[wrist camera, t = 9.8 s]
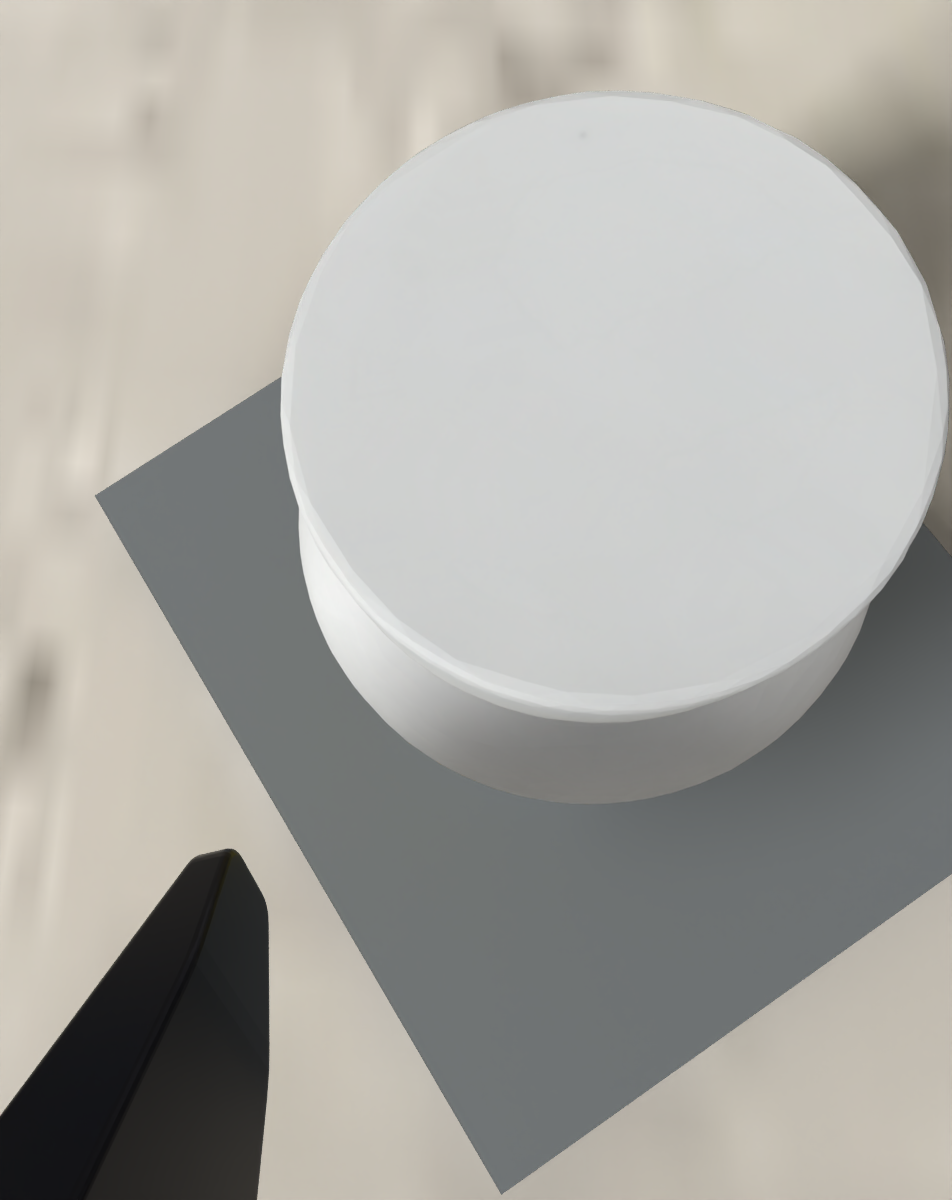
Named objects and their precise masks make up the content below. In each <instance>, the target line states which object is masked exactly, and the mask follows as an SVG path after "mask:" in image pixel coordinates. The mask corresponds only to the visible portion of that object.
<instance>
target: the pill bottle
mask: <svg viewBox="0 0 952 1200" xmlns="http://www.w3.org/2000/svg"><path fill="white" fill-rule="evenodd" d="M280 416H281V426H282V435H283V445H284V451H285V456H286V461H287V466H288V472H289V477H290V481H291V484H292V487H293V490H294V494H295V497H296V500H297V503H298V506H299V541H300V555H301V561H302V567H303V573H304V577H305V581H306V585H307V589H308V593H309V597H310V601H311V604H312V607H313V610H314V613H315V616H316V619H317V621H318V624H319V626H320V628H321V631H322V633H323V635H324V637H325V640H326V642H327V644H328V646H329V648H330V650H331V652H332V654H333V655H334V657H335V658H336V660H337V662H338V663H339V665H340V666H341V668H342V669H343V671H344V673H345V674H346V676H347V677H348V679H349V680H350V681H351V683H352V684H353V686H354V687H355V688H356V689H357V691H358V692H359V693H360V694H361V695H362V697H363V698H364V699H365V700H366V701H367V702H368V703H369V704H370V706H371V707H372V708H373V709H374V710H375V711H376V712H377V713H378V714H379V715H380V716H381V718H382V719H383V720H384V721H385V722H386V723H387V724H388V725H389V726H391V727H392V728H393V729H394V730H395V731H396V732H397V733H398V734H399V735H401V736H402V737H403V738H404V739H405V740H406V741H407V742H408V743H410V744H411V745H413V746H414V747H416V748H417V749H419V750H420V751H421V752H423V753H424V754H426V755H427V756H429V757H430V758H432V759H433V760H435V761H436V762H438V763H439V764H441V765H443V766H445V767H447V768H449V769H451V770H453V771H455V772H457V773H459V774H460V775H462V776H465V777H467V778H469V779H472V780H474V781H477V782H479V783H482V784H484V785H486V786H489V787H491V788H494V789H498V790H501V791H505V792H508V793H512V794H515V795H519V796H523V797H529V798H535V799H541V800H546V801H552V802H562V803H573V804H606V803H618V802H629V801H635V800H642V799H648V798H653V797H657V796H661V795H665V794H670V793H673V792H676V791H679V790H682V789H686V788H689V787H692V786H695V785H698V784H701V783H703V782H705V781H707V780H710V779H712V778H714V777H716V776H719V775H721V774H723V773H725V772H728V771H730V770H732V769H733V768H735V767H737V766H738V765H740V764H741V763H743V762H745V761H746V760H748V759H749V758H751V757H752V756H754V755H755V754H757V753H758V752H760V751H761V750H763V749H764V748H766V747H767V746H768V745H770V744H771V743H772V742H774V741H775V740H776V739H778V738H779V737H780V736H781V735H782V734H783V733H784V732H786V731H787V730H788V729H789V728H790V727H791V726H792V725H793V724H794V723H795V722H796V721H798V720H799V719H800V718H801V717H802V716H803V714H804V713H805V712H806V711H807V710H808V709H809V708H810V707H811V705H812V704H813V703H814V702H815V701H816V700H817V699H818V697H819V696H820V695H821V694H822V692H823V691H824V690H825V688H826V687H827V686H828V684H829V683H830V682H831V680H832V679H833V678H834V676H835V675H836V673H837V672H838V671H839V669H840V667H841V666H842V664H843V663H844V661H845V660H846V658H847V656H848V654H849V652H850V650H851V648H852V646H853V644H854V642H855V640H856V638H857V636H858V634H859V632H860V630H861V627H862V624H863V621H864V619H865V616H866V613H867V610H868V607H869V604H870V602H871V601H872V600H873V599H874V598H875V596H876V595H877V594H878V593H879V592H880V591H881V590H882V589H883V587H884V586H885V585H886V583H887V582H888V580H889V579H890V578H891V576H892V575H893V573H894V572H895V571H896V569H897V568H898V566H899V565H900V564H901V562H902V561H903V559H904V557H905V555H906V553H907V551H908V549H909V546H910V545H911V543H912V541H913V540H914V538H915V536H916V535H917V533H918V531H919V529H920V527H921V525H922V523H923V520H924V518H925V516H926V513H927V511H928V508H929V506H930V503H931V501H932V498H933V496H934V492H935V488H936V485H937V481H938V477H939V474H940V470H941V467H942V463H943V459H944V455H945V448H946V441H947V433H948V420H949V373H948V366H947V359H946V351H945V344H944V340H943V337H942V333H941V330H940V327H939V323H938V320H937V317H936V314H935V310H934V307H933V304H932V300H931V297H930V294H929V291H928V287H927V284H926V282H925V280H924V279H923V277H922V275H921V273H920V271H919V269H918V267H917V265H916V264H915V262H914V260H913V258H912V256H911V254H910V252H909V251H908V249H907V247H906V245H905V244H904V242H903V240H902V238H901V237H900V235H899V233H898V232H897V230H896V229H895V228H894V227H893V225H892V224H891V223H890V222H889V221H888V219H887V218H886V217H885V216H884V214H883V213H882V212H881V211H880V210H879V208H878V207H877V206H876V205H875V204H874V203H873V202H872V201H871V200H870V198H869V197H868V196H867V195H866V194H865V193H864V192H863V191H862V190H861V189H860V188H859V186H858V185H857V184H856V183H855V182H854V181H853V180H851V179H850V178H849V177H848V176H847V175H846V174H844V173H843V172H842V171H841V170H840V169H839V168H837V167H836V166H835V165H834V164H833V163H831V162H830V161H829V160H828V159H827V158H825V157H824V156H822V155H821V154H819V153H818V152H816V151H815V150H813V149H812V148H811V147H809V146H808V145H806V144H805V143H803V142H802V141H800V140H799V139H797V138H795V137H793V136H791V135H789V134H786V133H784V132H782V131H780V130H778V129H775V128H773V127H771V126H769V125H767V124H765V123H763V122H761V121H759V120H757V119H755V118H753V117H751V116H749V115H747V114H744V113H741V112H738V111H735V110H732V109H729V108H725V107H722V106H718V105H715V104H712V103H708V102H705V101H701V100H695V99H689V98H683V97H677V96H671V95H665V94H659V93H650V92H635V91H587V92H580V93H574V94H567V95H561V96H555V97H551V98H546V99H542V100H537V101H533V102H528V103H525V104H521V105H518V106H515V107H512V108H508V109H505V110H502V111H499V112H496V113H493V114H491V115H488V116H486V117H483V118H481V119H479V120H477V121H475V122H473V123H471V124H469V125H466V126H464V127H462V128H460V129H458V130H456V131H454V132H452V133H450V134H449V135H447V136H445V137H443V138H441V139H440V140H438V141H436V142H435V143H433V144H432V145H430V146H429V147H427V148H425V149H424V150H422V151H421V152H419V153H418V154H416V155H415V156H414V157H412V158H411V159H409V160H408V161H407V162H406V163H404V164H403V165H402V166H401V167H400V168H398V169H397V170H396V171H395V172H394V173H392V174H391V175H390V176H389V177H388V178H386V179H385V180H384V181H383V182H382V183H381V184H380V185H379V186H378V187H377V188H376V189H375V190H374V191H373V192H372V193H371V194H370V195H369V196H368V197H367V198H366V199H365V200H364V201H363V202H362V203H361V204H360V205H359V206H358V208H357V209H356V210H355V211H354V212H353V213H352V214H351V216H350V217H349V218H348V219H347V220H346V221H345V222H344V224H343V225H342V227H341V228H340V230H339V232H338V233H337V234H336V236H335V237H334V239H333V240H332V242H331V243H330V245H329V246H328V248H327V249H326V251H325V252H324V254H323V255H322V257H321V259H320V261H319V263H318V265H317V267H316V269H315V271H314V273H313V274H312V276H311V278H310V280H309V282H308V285H307V287H306V289H305V291H304V294H303V296H302V298H301V300H300V303H299V306H298V309H297V312H296V315H295V318H294V321H293V325H292V328H291V331H290V334H289V339H288V344H287V350H286V355H285V361H284V367H283V372H282V378H281V415H280Z"/></svg>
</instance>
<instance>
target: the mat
mask: <svg viewBox="0 0 952 1200" xmlns="http://www.w3.org/2000/svg"><path fill="white" fill-rule="evenodd" d="M281 378H282V377H280V378H279V379H277V380H275V381H274V382H272V383H271V384H269V385H268V386H266V387H265V388H263V389H261V390H260V391H258V392H257V393H255V394H254V395H252V396H250V397H249V398H247V399H246V400H244V401H243V402H241V403H239V404H238V405H236V406H235V407H233V408H232V409H230V410H228V411H227V412H225V413H224V414H222V415H221V416H219V417H218V418H216V419H214V420H213V421H211V422H210V423H208V424H207V425H205V426H203V427H202V428H200V429H199V430H197V431H196V432H194V433H192V434H191V435H189V436H188V437H186V438H185V439H183V440H181V441H180V442H178V443H177V444H175V445H174V446H172V447H171V448H169V449H167V450H166V451H164V452H163V453H161V454H160V455H158V456H156V457H155V458H153V459H152V460H150V461H149V462H147V463H145V464H144V465H142V466H141V467H139V468H138V469H136V470H134V471H133V472H131V473H130V474H128V475H127V476H125V477H124V478H122V479H120V480H119V481H117V482H116V483H114V484H113V485H111V486H109V487H108V488H106V489H105V490H103V491H102V492H100V493H98V494H97V495H95V497H96V499H97V500H98V502H99V504H100V505H101V507H102V509H103V511H104V512H105V514H106V516H107V517H108V519H109V521H110V523H111V524H112V526H113V528H114V529H115V531H116V533H117V535H118V536H119V538H120V540H121V541H122V543H123V545H124V547H125V548H126V550H127V552H128V554H129V555H130V557H131V559H132V560H133V562H134V564H135V566H136V567H137V569H138V571H139V572H140V574H141V576H142V578H143V579H144V581H145V583H146V584H147V586H148V588H149V590H150V591H151V593H152V595H153V596H154V598H155V600H156V602H157V603H158V605H159V607H160V609H161V610H162V612H163V614H164V615H165V617H166V619H167V621H168V622H169V624H170V626H171V627H172V629H173V631H174V633H175V634H176V636H177V638H178V639H179V641H180V643H181V645H182V646H183V648H184V650H185V651H186V653H187V655H188V657H189V658H190V660H191V662H192V664H193V665H194V667H195V669H196V670H197V672H198V674H199V676H200V677H201V679H202V681H203V682H204V684H205V686H206V688H207V689H208V691H209V693H210V694H211V696H212V698H213V700H214V701H215V703H216V705H217V706H218V708H219V710H220V712H221V713H222V715H223V717H224V719H225V720H226V722H227V724H228V725H229V727H230V729H231V731H232V732H233V734H234V736H235V737H236V739H237V741H238V743H239V744H240V746H241V748H242V749H243V751H244V753H245V755H246V756H247V758H248V760H249V761H250V763H251V765H252V767H253V768H254V770H255V772H256V774H257V775H258V777H259V779H260V780H261V782H262V784H263V786H264V787H265V789H266V791H267V792H268V794H269V796H270V798H271V799H272V801H273V803H274V804H275V806H276V808H277V810H278V811H279V813H280V815H281V816H282V818H283V820H284V822H285V823H286V825H287V827H288V829H289V830H290V832H291V834H292V835H293V837H294V839H295V841H296V842H297V844H298V846H299V847H300V849H301V851H302V853H303V854H304V856H305V858H306V859H307V861H308V863H309V865H310V866H311V868H312V870H313V871H314V873H315V875H316V877H317V878H318V880H319V882H320V884H321V885H322V887H323V889H324V890H325V892H326V894H327V896H328V897H329V899H330V901H331V902H332V904H333V906H334V908H335V909H336V911H337V913H338V914H339V916H340V918H341V920H342V921H343V923H344V925H345V926H346V928H347V930H348V932H349V933H350V935H351V937H352V939H353V940H354V942H355V944H356V945H357V947H358V949H359V951H360V952H361V954H362V956H363V957H364V959H365V961H366V963H367V964H368V966H369V968H370V969H371V971H372V973H373V975H374V976H375V978H376V980H377V981H378V983H379V985H380V987H381V988H382V990H383V992H384V994H385V995H386V997H387V999H388V1000H389V1002H390V1004H391V1006H392V1007H393V1009H394V1011H395V1012H396V1014H397V1016H398V1018H399V1019H400V1021H401V1023H402V1024H403V1026H404V1028H405V1030H406V1031H407V1033H408V1035H409V1036H410V1038H411V1040H412V1042H413V1043H414V1045H415V1047H416V1049H417V1050H418V1052H419V1054H420V1055H421V1057H422V1059H423V1061H424V1062H425V1064H426V1066H427V1067H428V1069H429V1071H430V1073H431V1074H432V1076H433V1078H434V1079H435V1081H436V1083H437V1085H438V1086H439V1088H440V1090H441V1091H442V1093H443V1095H444V1097H445V1098H446V1100H447V1102H448V1104H449V1105H450V1107H451V1109H452V1110H453V1112H454V1114H455V1116H456V1117H457V1119H458V1121H459V1122H460V1124H461V1126H462V1128H463V1129H464V1131H465V1133H466V1134H467V1136H468V1138H469V1140H470V1141H471V1143H472V1145H473V1146H474V1148H475V1150H476V1152H477V1153H478V1155H479V1157H480V1159H481V1160H482V1162H483V1164H484V1165H485V1167H486V1169H487V1171H488V1172H489V1174H490V1176H491V1177H492V1179H493V1181H494V1183H495V1184H496V1186H497V1188H498V1189H499V1191H500V1193H501V1195H502V1194H503V1193H504V1192H506V1191H507V1190H509V1189H510V1188H511V1187H513V1186H514V1185H516V1184H517V1183H518V1182H520V1181H521V1180H523V1179H524V1178H525V1177H527V1176H528V1175H530V1174H531V1173H532V1172H534V1171H535V1170H537V1169H538V1168H539V1167H541V1166H542V1165H544V1164H545V1163H547V1162H548V1161H549V1160H551V1159H552V1158H554V1157H555V1156H556V1155H558V1154H559V1153H561V1152H562V1151H563V1150H565V1149H566V1148H568V1147H569V1146H570V1145H572V1144H573V1143H575V1142H576V1141H577V1140H579V1139H580V1138H582V1137H583V1136H584V1135H586V1134H587V1133H589V1132H590V1131H591V1130H593V1129H594V1128H596V1127H597V1126H598V1125H600V1124H601V1123H603V1122H604V1121H605V1120H607V1119H608V1118H610V1117H611V1116H612V1115H614V1114H615V1113H617V1112H618V1111H620V1110H621V1109H622V1108H624V1107H625V1106H627V1105H628V1104H629V1103H631V1102H632V1101H634V1100H635V1099H636V1098H638V1097H639V1096H641V1095H642V1094H643V1093H645V1092H646V1091H648V1090H649V1089H650V1088H652V1087H653V1086H655V1085H656V1084H657V1083H659V1082H660V1081H662V1080H663V1079H664V1078H666V1077H667V1076H669V1075H670V1074H671V1073H673V1072H674V1071H676V1070H677V1069H678V1068H680V1067H681V1066H683V1065H684V1064H685V1063H687V1062H688V1061H690V1060H691V1059H693V1058H694V1057H695V1056H697V1055H698V1054H700V1053H701V1052H702V1051H704V1050H705V1049H707V1048H708V1047H709V1046H711V1045H712V1044H714V1043H715V1042H716V1041H718V1040H719V1039H721V1038H722V1037H723V1036H725V1035H726V1034H728V1033H729V1032H730V1031H732V1030H733V1029H735V1028H736V1027H737V1026H739V1025H740V1024H742V1023H743V1022H744V1021H746V1020H747V1019H749V1018H750V1017H751V1016H753V1015H754V1014H756V1013H757V1012H758V1011H760V1010H761V1009H763V1008H764V1007H765V1006H767V1005H768V1004H770V1003H771V1002H773V1001H774V1000H775V999H777V998H778V997H780V996H781V995H782V994H784V993H785V992H787V991H788V990H789V989H791V988H792V987H794V986H795V985H796V984H798V983H799V982H801V981H802V980H803V979H805V978H806V977H808V976H809V975H810V974H812V973H813V972H815V971H816V970H817V969H819V968H820V967H822V966H823V965H824V964H826V963H827V962H829V961H830V960H831V959H833V958H834V957H836V956H837V955H838V954H840V953H841V952H843V951H844V950H846V949H847V948H848V947H850V946H851V945H853V944H854V943H855V942H857V941H858V940H860V939H861V938H862V937H864V936H865V935H867V934H868V933H869V932H871V931H872V930H874V929H875V928H876V927H878V926H879V925H881V924H882V923H883V922H885V921H886V920H888V919H889V918H890V917H892V916H893V915H895V914H896V913H897V912H899V911H900V910H902V909H903V908H904V907H906V906H907V905H909V904H910V903H911V902H913V901H914V900H916V899H917V898H919V897H920V896H921V895H923V894H924V893H926V892H927V891H928V890H930V889H931V888H933V887H934V886H935V885H937V884H938V883H940V882H941V881H942V880H944V879H945V878H947V877H948V876H949V875H951V874H952V557H951V556H950V555H949V553H948V552H947V551H946V550H945V549H944V547H943V546H942V545H941V544H940V543H939V542H938V540H937V539H936V538H935V537H934V536H933V534H932V533H931V532H930V531H929V530H928V528H927V527H926V526H925V525H924V524H923V523H922V525H921V527H920V529H919V531H918V533H917V535H916V536H915V538H914V540H913V541H912V543H911V545H910V546H909V549H908V551H907V553H906V555H905V557H904V559H903V561H902V562H901V564H900V565H899V566H898V568H897V569H896V571H895V572H894V573H893V575H892V576H891V578H890V579H889V580H888V582H887V583H886V585H885V586H884V587H883V589H882V590H881V591H880V592H879V593H878V594H877V595H876V596H875V598H874V599H873V600H872V601H871V602H870V604H869V607H868V610H867V613H866V616H865V619H864V621H863V624H862V627H861V630H860V632H859V634H858V636H857V638H856V640H855V642H854V644H853V646H852V648H851V650H850V652H849V654H848V656H847V658H846V660H845V661H844V663H843V664H842V666H841V667H840V669H839V671H838V672H837V673H836V675H835V676H834V678H833V679H832V680H831V682H830V683H829V684H828V686H827V687H826V688H825V690H824V691H823V692H822V694H821V695H820V696H819V697H818V699H817V700H816V701H815V702H814V703H813V704H812V705H811V707H810V708H809V709H808V710H807V711H806V712H805V713H804V714H803V716H802V717H801V718H800V719H799V720H798V721H796V722H795V723H794V724H793V725H792V726H791V727H790V728H789V729H788V730H787V731H786V732H784V733H783V734H782V735H781V736H780V737H779V738H778V739H776V740H775V741H774V742H772V743H771V744H770V745H768V746H767V747H766V748H764V749H763V750H761V751H760V752H758V753H757V754H755V755H754V756H752V757H751V758H749V759H748V760H746V761H745V762H743V763H741V764H740V765H738V766H737V767H735V768H733V769H732V770H730V771H728V772H725V773H723V774H721V775H719V776H716V777H714V778H712V779H710V780H707V781H705V782H703V783H701V784H698V785H695V786H692V787H689V788H686V789H682V790H679V791H676V792H673V793H670V794H665V795H661V796H657V797H653V798H648V799H642V800H635V801H629V802H618V803H606V804H573V803H562V802H552V801H546V800H541V799H535V798H529V797H523V796H519V795H515V794H512V793H508V792H505V791H501V790H498V789H494V788H491V787H489V786H486V785H484V784H482V783H479V782H477V781H474V780H472V779H469V778H467V777H465V776H462V775H460V774H459V773H457V772H455V771H453V770H451V769H449V768H447V767H445V766H443V765H441V764H439V763H438V762H436V761H435V760H433V759H432V758H430V757H429V756H427V755H426V754H424V753H423V752H421V751H420V750H419V749H417V748H416V747H414V746H413V745H411V744H410V743H408V742H407V741H406V740H405V739H404V738H403V737H402V736H401V735H399V734H398V733H397V732H396V731H395V730H394V729H393V728H392V727H391V726H389V725H388V724H387V723H386V722H385V721H384V720H383V719H382V718H381V716H380V715H379V714H378V713H377V712H376V711H375V710H374V709H373V708H372V707H371V706H370V704H369V703H368V702H367V701H366V700H365V699H364V698H363V697H362V695H361V694H360V693H359V692H358V691H357V689H356V688H355V687H354V686H353V684H352V683H351V681H350V680H349V679H348V677H347V676H346V674H345V673H344V671H343V669H342V668H341V666H340V665H339V663H338V662H337V660H336V658H335V657H334V655H333V654H332V652H331V650H330V648H329V646H328V644H327V642H326V640H325V637H324V635H323V633H322V631H321V628H320V626H319V624H318V621H317V619H316V616H315V613H314V610H313V607H312V604H311V601H310V597H309V593H308V589H307V585H306V581H305V577H304V573H303V567H302V561H301V555H300V541H299V506H298V503H297V500H296V497H295V494H294V490H293V487H292V484H291V481H290V477H289V472H288V466H287V461H286V456H285V451H284V445H283V435H282V426H281V416H280V415H281Z"/></svg>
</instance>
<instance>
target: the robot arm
mask: <svg viewBox="0 0 952 1200" xmlns="http://www.w3.org/2000/svg"><path fill="white" fill-rule="evenodd" d="M268 1078H269V923H268V911H267V906H266V902H265V899H264V897H263V894H262V893H261V891H260V889H259V887H258V885H257V884H256V882H255V880H254V878H253V876H252V875H251V873H250V871H249V869H248V868H247V866H246V864H245V862H244V860H243V859H242V857H241V856H240V854H239V853H238V852H237V851H236V850H234V849H224V850H219V851H215V852H211V853H206V854H202V855H198V856H196V857H194V858H193V859H192V860H191V861H190V862H189V863H188V864H187V865H186V867H185V868H184V869H183V871H182V872H181V874H180V875H179V876H178V878H177V879H176V880H175V882H174V883H173V884H172V886H171V887H170V888H169V890H168V891H167V892H166V894H165V895H164V896H163V898H162V899H161V900H160V902H159V903H158V904H157V906H156V907H155V908H154V910H153V911H152V912H151V914H150V915H149V917H148V918H147V919H146V921H145V922H144V923H143V925H142V926H141V927H140V929H139V930H138V931H137V933H136V934H135V935H134V937H133V938H132V939H131V941H130V942H129V943H128V945H127V946H126V947H125V949H124V950H123V951H122V953H121V954H120V956H119V957H118V958H117V960H116V961H115V962H114V964H113V965H112V966H111V968H110V969H109V970H108V972H107V973H106V974H105V976H104V977H103V978H102V980H101V981H100V982H99V984H98V985H97V986H96V988H95V989H94V990H93V992H92V993H91V994H90V996H89V997H88V999H87V1000H86V1001H85V1003H84V1004H83V1005H82V1007H81V1008H80V1009H79V1011H78V1012H77V1013H76V1015H75V1016H74V1017H73V1019H72V1020H71V1021H70V1023H69V1024H68V1025H67V1027H66V1028H65V1029H64V1031H63V1032H62V1033H61V1035H60V1036H59V1038H58V1039H57V1040H56V1042H55V1043H54V1044H53V1046H52V1047H51V1048H50V1050H49V1051H48V1052H47V1054H46V1055H45V1056H44V1058H43V1059H42V1060H41V1062H40V1063H39V1064H38V1066H37V1067H36V1068H35V1070H34V1071H33V1072H32V1074H31V1075H30V1077H29V1078H28V1079H27V1081H26V1082H25V1083H24V1085H23V1086H22V1087H21V1089H20V1090H19V1091H18V1093H17V1094H16V1095H15V1097H14V1098H13V1099H12V1101H11V1102H10V1103H9V1105H8V1106H7V1107H6V1109H5V1110H4V1111H3V1113H2V1114H1V1115H0V1200H257V1194H258V1184H259V1174H260V1164H261V1154H262V1144H263V1134H264V1123H265V1113H266V1103H267V1092H268Z"/></svg>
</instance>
